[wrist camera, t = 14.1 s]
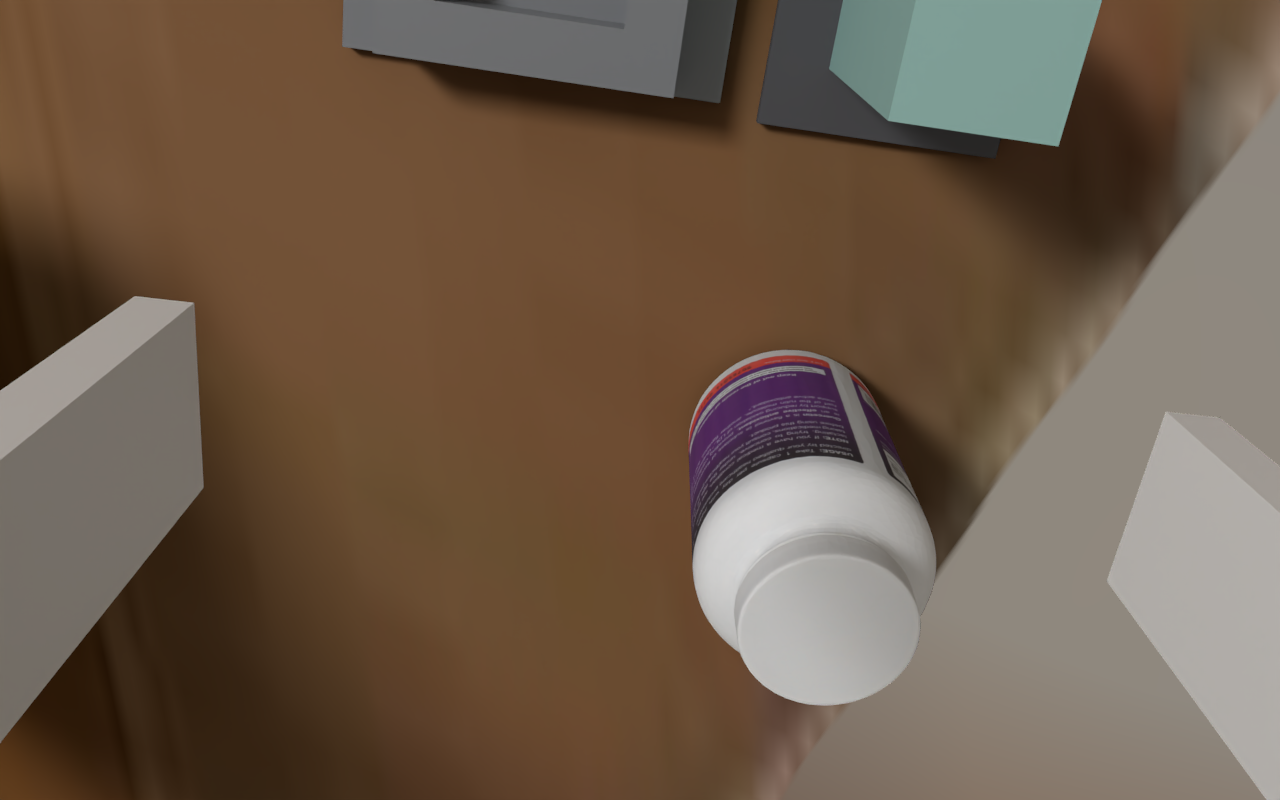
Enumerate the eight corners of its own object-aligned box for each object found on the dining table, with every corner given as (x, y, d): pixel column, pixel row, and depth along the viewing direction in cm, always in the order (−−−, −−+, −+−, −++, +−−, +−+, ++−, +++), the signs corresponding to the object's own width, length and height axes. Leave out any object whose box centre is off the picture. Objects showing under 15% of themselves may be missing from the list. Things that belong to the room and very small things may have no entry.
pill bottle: (656, 465, 46) (645, 678, 33) (745, 308, 43) (773, 473, 30) (818, 540, 47) (871, 775, 34) (916, 392, 44) (1016, 587, 31)
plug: (829, 69, 38) (888, 120, 27) (856, -66, 36) (931, -67, 25) (950, 87, 38) (1058, 146, 27) (984, -46, 37) (1113, -39, 26)
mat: (756, 120, 40) (757, 122, 39) (804, -146, 36) (806, -147, 36) (990, 155, 40) (995, 158, 39) (1062, -106, 36) (1068, -107, 36)
